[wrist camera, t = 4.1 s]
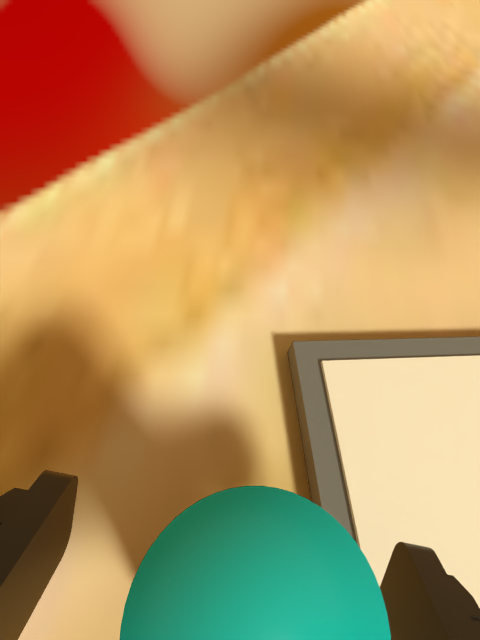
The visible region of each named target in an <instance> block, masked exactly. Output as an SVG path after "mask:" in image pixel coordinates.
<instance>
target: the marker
mask: <svg viewBox="0 0 480 640" xmlns="http://www.w3.org/2000/svg"><path fill="white" fill-rule="evenodd" d="M120 640H391V633H390V627H389V621H388V615H387V611H386V607H385V603H384V600H383V596H382V593H381V590H380V587H379V585H378V582H377V579H376V577H375V574H374V572H373V570H372V568H371V566H370V564H369V562H368V561H367V559H366V557H365V555H364V554H363V552H362V551H361V549H360V547H359V546H358V544H357V543H356V541H355V540H354V539H353V538H352V537H351V535H350V534H349V533H348V532H347V530H346V529H345V528H344V527H343V526H342V525H341V524H340V523H339V522H338V521H337V520H336V519H335V518H334V517H333V516H332V515H330V514H329V513H328V512H326V511H325V510H324V509H322V508H321V507H320V506H318V505H316V504H315V503H313V502H311V501H310V500H308V499H306V498H304V497H302V496H299V495H297V494H295V493H292V492H289V491H286V490H282V489H279V488H273V487H266V486H243V487H237V488H230V489H227V490H224V491H220V492H217V493H214V494H212V495H210V496H208V497H206V498H203V499H201V500H200V501H198V502H196V503H195V504H193V505H192V506H190V507H188V508H187V509H186V510H184V511H183V512H182V513H181V514H180V515H178V516H177V517H176V518H175V519H174V520H173V521H172V522H171V523H170V524H169V525H168V526H167V527H166V528H165V529H164V530H163V531H162V532H161V533H160V535H159V536H158V537H157V539H156V540H155V542H154V543H153V544H152V546H151V547H150V548H149V550H148V552H147V554H146V555H145V557H144V559H143V561H142V562H141V564H140V566H139V568H138V571H137V573H136V575H135V577H134V580H133V582H132V584H131V588H130V591H129V594H128V597H127V600H126V604H125V608H124V613H123V618H122V623H121V630H120Z"/></svg>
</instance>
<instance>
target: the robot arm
mask: <svg viewBox="0 0 480 640" xmlns="http://www.w3.org/2000/svg"><path fill="white" fill-rule="evenodd" d="M77 485H78V478H77V476H73V475H68V474H63V473H58V472H53V471H48V470H45V471H44V472H43V473H42V474H41V475H40V476H39V477H38V479H37V480H36V481H35V482H34V484H33V485H32V486H31V487H30V489H29V490H23V489H18V488H14V489H12V490H10V491H9V492H7V493H5V494H4V495H2V496H0V640H18V638H19V636H20V634H21V633H22V631H23V629H24V627H25V625H26V623H27V622H28V620H29V618H30V616H31V614H32V612H33V610H34V609H35V607H36V605H37V603H38V601H39V599H40V598H41V596H42V594H43V592H44V590H45V588H46V586H47V585H48V583H49V581H50V579H51V577H52V575H53V574H54V572H55V570H56V568H57V566H58V564H59V563H60V561H61V559H62V557H63V554H64V552H65V550H66V547H67V544H68V541H69V538H70V534H71V528H72V521H73V514H74V507H75V500H76V492H77ZM380 590H381V593H382V596H383V600H384V603H385V607H386V611H387V615H388V621H389V627H390V633H391V640H480V608H479V606H478V604H477V603H476V601H475V599H474V598H473V596H472V595H471V594H470V593H469V592H468V591H467V590H466V589H465V588H464V586H463V585H462V584H461V583H460V582H459V581H458V580H457V579H456V578H455V577H454V576H453V575H448V574H447V573H446V571H445V569H444V568H443V566H442V564H441V562H440V560H439V558H438V557H437V555H436V553H435V551H434V550H433V549H432V548H429V547H425V546H420V545H415V544H409V543H404V542H398V543H397V544H396V545H395V547H394V549H393V552H392V555H391V558H390V560H389V563H388V566H387V569H386V572H385V574H384V577H383V580H382V583H381V585H380Z"/></svg>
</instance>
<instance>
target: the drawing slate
mask: <svg viewBox="0 0 480 640" xmlns="http://www.w3.org/2000/svg"><path fill="white" fill-rule="evenodd" d="M288 358H289V364H290V370H291V376H292V382H293V388H294V394H295V400H296V406H297V412H298V418H299V424H300V430H301V437H302V443H303V449H304V455H305V461H306V467H307V473H308V479H309V485H310V491H311V497H312V502H313V503H315V504H316V505H318V506H320V507H321V508H322V509H324V510H325V511H326V512H328V513H329V514H330V515H332V516H333V517H334V518H335V519H336V520H337V521H338V522H339V523H340V524H341V525H342V526H343V527H344V528H345V529H346V530H347V532H348V533H349V534H350V535H351V537H352V538H353V539H354V540H355V541H356V543H357V544H358V546H359V547H360V549H361V551H362V552H363V554H364V555H365V557H366V559H367V561H368V562H369V564H370V566H371V568H372V570H373V572H374V574H375V577H376V579H377V582H378V585H379V587H380V585H381V583H382V580H383V577H384V574H385V572H386V569H387V566H388V563H389V560H390V558H391V555H392V552H393V549H394V547H395V545H396V544H397V543H398V542H404V543H409V544H415V545H420V546H425V547H429V548H432V549H433V550H434V551H435V553H436V555H437V557H438V558H439V560H440V562H441V564H442V566H443V568H444V569H445V571H446V573H447V574H448V575H453V576H454V577H455V578H456V579H457V580H458V581H459V582H460V583H461V584H462V585H463V586H464V588H465V589H466V590H467V591H468V592H469V593H470V594H471V595H472V596H473V598H474V599H475V601H476V603H477V604H478V606H479V608H480V337H448V338H410V339H371V340H332V341H293V343H292V344H291V346H290V348H289V350H288Z"/></svg>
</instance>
